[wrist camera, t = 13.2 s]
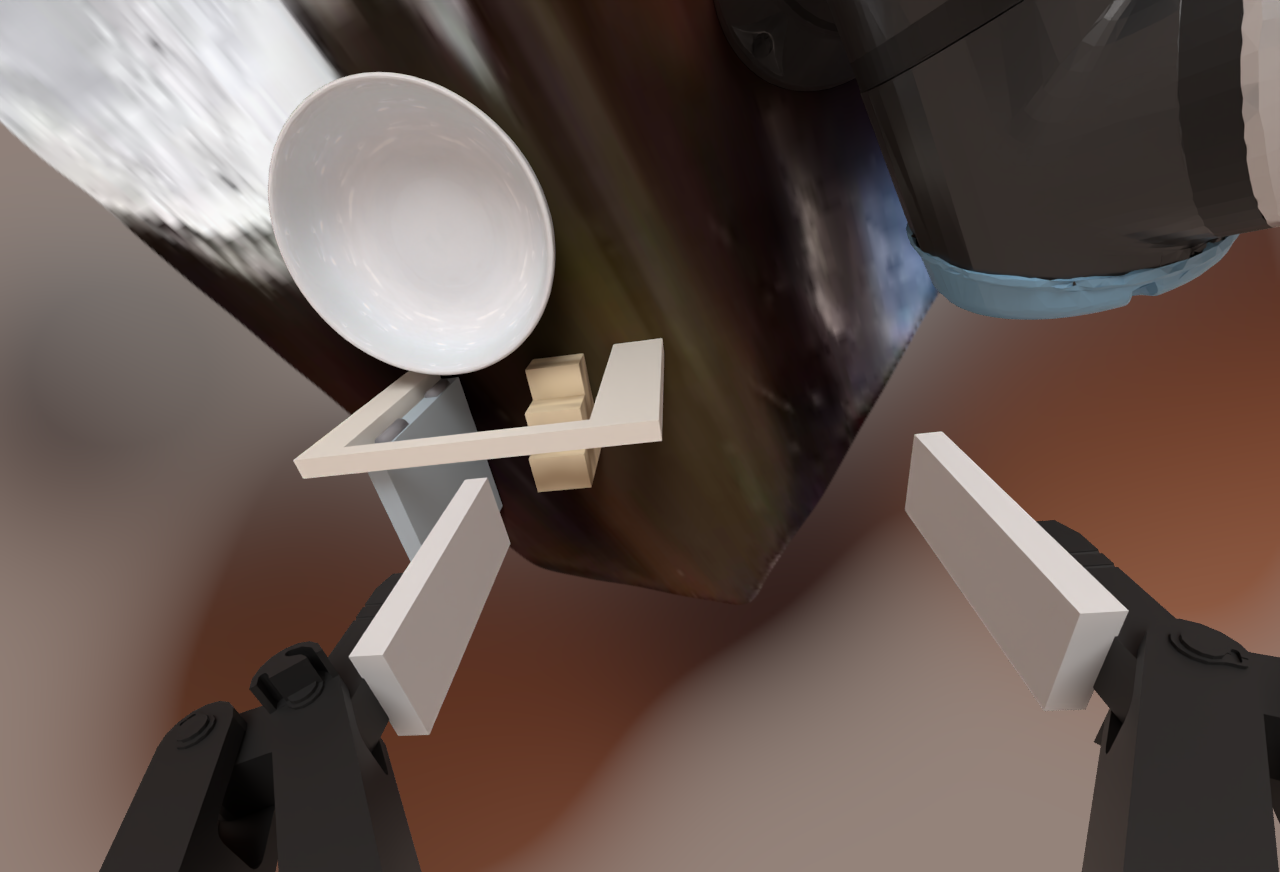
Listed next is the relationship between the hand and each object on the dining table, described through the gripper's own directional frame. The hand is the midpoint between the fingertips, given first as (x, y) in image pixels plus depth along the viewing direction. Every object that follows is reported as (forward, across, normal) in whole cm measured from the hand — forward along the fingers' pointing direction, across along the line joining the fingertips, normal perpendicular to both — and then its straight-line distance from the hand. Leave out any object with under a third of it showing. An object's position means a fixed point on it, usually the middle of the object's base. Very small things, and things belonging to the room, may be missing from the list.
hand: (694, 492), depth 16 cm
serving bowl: (+32, -19, +7) cm, 38 cm away
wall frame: (+32, -14, -5) cm, 35 cm away
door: (+31, -22, -13) cm, 41 cm away
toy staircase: (+32, -12, -10) cm, 36 cm away
